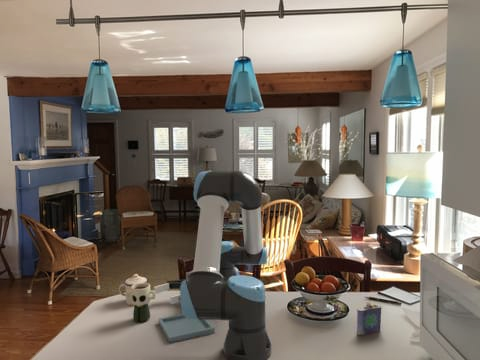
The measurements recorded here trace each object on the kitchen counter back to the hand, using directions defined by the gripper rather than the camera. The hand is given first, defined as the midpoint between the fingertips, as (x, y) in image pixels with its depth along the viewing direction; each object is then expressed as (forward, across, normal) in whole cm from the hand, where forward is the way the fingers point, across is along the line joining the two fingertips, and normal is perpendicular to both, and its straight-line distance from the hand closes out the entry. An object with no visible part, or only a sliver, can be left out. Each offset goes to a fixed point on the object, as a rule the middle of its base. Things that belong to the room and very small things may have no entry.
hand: (162, 295), depth 153 cm
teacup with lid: (+4, +18, -7) cm, 20 cm away
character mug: (+9, 0, -7) cm, 12 cm away
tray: (0, -17, -7) cm, 18 cm away
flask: (-46, -61, -7) cm, 77 cm away
